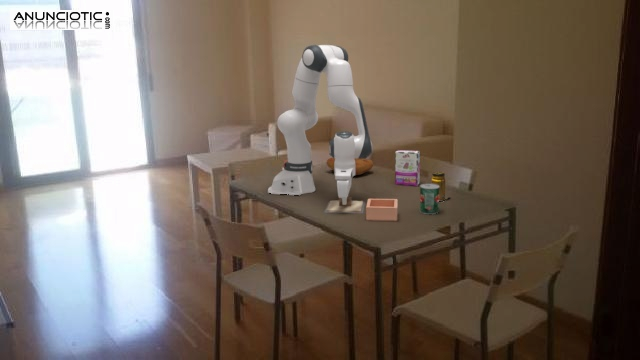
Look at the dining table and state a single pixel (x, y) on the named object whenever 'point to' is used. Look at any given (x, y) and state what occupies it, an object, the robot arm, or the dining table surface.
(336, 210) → the lid
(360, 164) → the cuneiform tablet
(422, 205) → the canned tomato
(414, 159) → the candy bar box
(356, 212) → the mat
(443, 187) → the condiment
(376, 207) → the rectangular open box
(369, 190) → the dining table surface
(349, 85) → the robot arm
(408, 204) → the dining table surface
